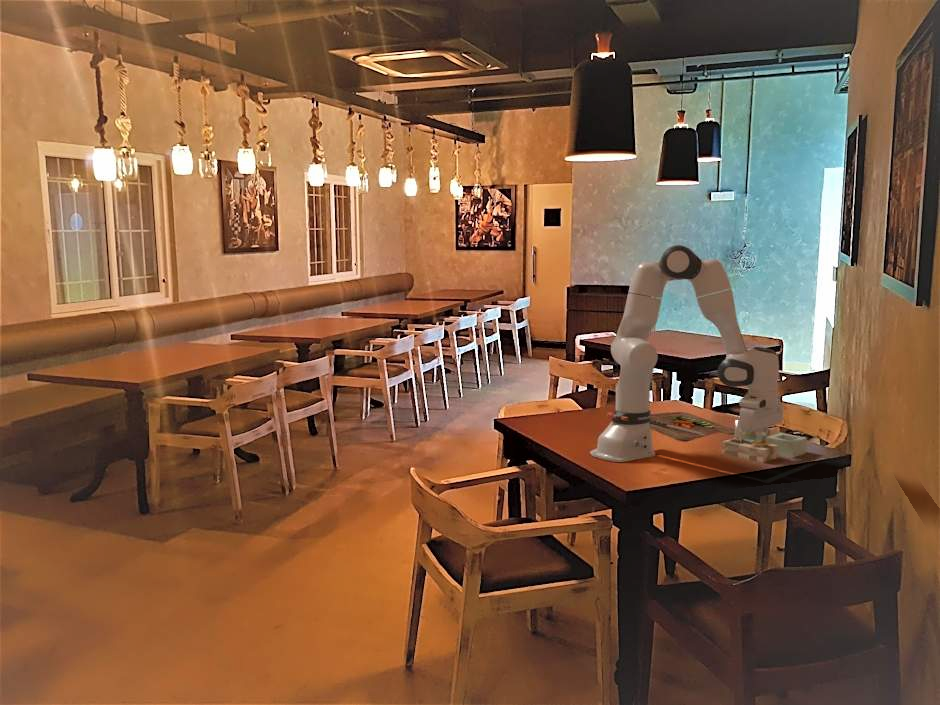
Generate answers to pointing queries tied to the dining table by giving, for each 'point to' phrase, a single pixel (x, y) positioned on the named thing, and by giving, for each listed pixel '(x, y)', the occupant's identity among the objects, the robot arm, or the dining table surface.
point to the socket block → (750, 450)
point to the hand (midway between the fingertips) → (761, 441)
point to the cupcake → (753, 435)
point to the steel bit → (739, 433)
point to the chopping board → (685, 426)
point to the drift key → (760, 443)
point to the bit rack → (789, 444)
